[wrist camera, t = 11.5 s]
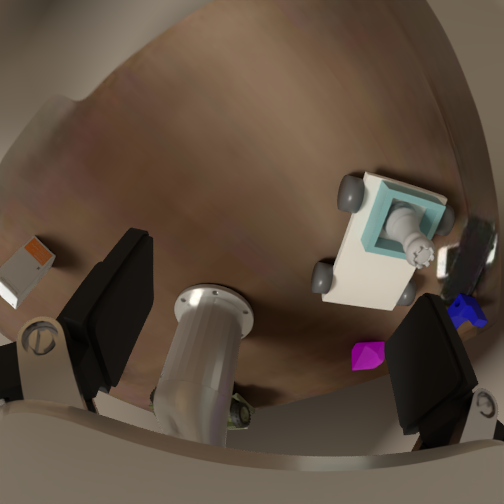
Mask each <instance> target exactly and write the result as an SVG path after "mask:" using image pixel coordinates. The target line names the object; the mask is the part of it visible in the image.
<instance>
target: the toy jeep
mask: <svg viewBox="0 0 504 504" xmlns="http://www.w3.org/2000/svg"><path fill="white" fill-rule="evenodd" d="M156 388H157V387H155V389H153V392H151V393H152V394H150V396H151V397H150V399H151V403H150V404H151V405H149V407H150V408H152V409H153V410H154V406H153V400H154V394H155V391H156ZM233 398H235V399H236V400H237V401H235V400H234V399H233ZM250 412H251V413H252V414H254V413H255V409H254V408H253V407H252V406H251V405H250V404H249V403H248V402H247V401H245V400H244V399H243V398H242V397H241V396H240V395H239V394H238V393H235V395H232V398H231V405H230V411H229V417H228V424H227V428H230V427H236V428H232V429H227V430H233V429H248V425H249V423H250V420H251V418H250V416H251V415H250ZM154 415H155V412H154ZM155 416H156V415H155ZM228 426H229V427H228Z"/></svg>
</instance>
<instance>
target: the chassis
mask: <svg viewBox="0 0 504 504" xmlns="http://www.w3.org/2000/svg"><path fill="white" fill-rule="evenodd" d="M400 202H401V203H408V204H409V205H411V206H413V208H414V209H415V211H416V213H417V214H418V216H419V223H420V224H419V229H420V231H421V232H422V233H423V234H425V236H426V237H427V238H428V239H430V240H431V239H432V237H433V235H434V234H438V235H441V236H446V235H448V234H449V233H450V231H451V230H452V228H453V225H454V220H455V214H454V210H453V208H452V207H451V206H450V205H447V204H446V202H447V198H446V197H445V196H443V195H440V194H437V193H434V192H431V191H429V190H426V189H423V188H420V187H417V186H413V185H410V184H407V183H404V182H401V181H398V180H394V179H391V178H387V177H384V176H381V175H377V174H374V173H370V172H366V171H365V175H364V178H363V179H361V178H357V177H354V176H350V175H345V176H344V177H343V179H342V181H341V184H340V187H339V191H338V199H337V205H338V209H339V210H341V211H346V212H350V213H352V215H351V218H350V221H349V224H348V227H347V230H346V233H345V236H344V239H343V241H342V244H341V247H340V250H339V252H338V255H337V258H336V260H335V263H334V266H332V264H327V263H322V262H317V263H316V264H315V267H314V270H313V274H312V279H311V291H312V292H314V293H320V294H322V301H326V302H333V303H339V304H346V305H353V306H361V307H368V308H376V309H383V310H391V311H392V310H393V308H394V307H395V305H403V306H410V305H411V304H412V303H413V301H414V299H415V296H416V283H415V281H414V280H413V279H411V277H412V275H413V273H414V271H415V269H416V267H417V266H416V267H414V266H412V265H410V264H409V263H408V262H407V260H406V253H405V252H404V250H403V245H402V244H401V243H400V242H398V241H395V240H393V239H391V238H390V237H389V236H388V235H387V233H386V232H385V230H384V229H383V223H384V221H385V218H386V216H387V213H388V210H389V208H390V207H391V206H392V205H394V204H397V203H400Z"/></svg>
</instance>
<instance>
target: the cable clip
mask: <svg viewBox="0 0 504 504" xmlns="http://www.w3.org/2000/svg"><path fill="white" fill-rule="evenodd" d="M447 311H448V313H449V316H450V318H451V320H452V322H453V324H454V326H455V328H456V329H457V328H458V327H459V326H460V325H461V324H462V323H463V322H465V321H467V320H469V321H470V322H471V323H472V325H474V326H478V327H483V326H484V325H485V324H486V323H487V322H488V321H487V319H486V317H485V315H484V313H483V311H482V310H481V308H480V306H479V304H478V303H477V301H476V299H475V298H473V297H470V296H467V295H464V294H459V295H458V297H457V298H456V299H455V301H454V302H453V303H452V305H451V306H450V307H449V309H448V310H447Z"/></svg>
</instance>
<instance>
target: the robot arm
mask: <svg viewBox="0 0 504 504" xmlns="http://www.w3.org/2000/svg"><path fill="white" fill-rule="evenodd" d="M153 300H154V290H153V237H150V236H149V234H148V232H147V231H144V230H140V229H136V228H130V229H129V230H128V231H127V232H126V233H125V234H124V236H123V237H122V238H121V239H120V240H119V242H118V243H117V244H116V245H115V247H114V248H113V249H112V250H111V252H110V253H109V254H108V255H107V257H106V258H105V259H104V260H103V262H98V263H97V264H96V265H95V266H94V268H93V269H92V270H91V272H90V273H89V274H88V276H87V277H86V278H85V280H84V281H83V282H82V284H81V285H80V286H79V288H78V289H77V290H76V292H75V293H74V294H73V296H72V297H71V299H70V300H69V301H68V303H67V304H66V306H65V307H64V309H63V310H62V311H61V313H60V314H59V316H58V317H57V319H56V320H54V319H52V318H50V317H36V318H34V319H31V320H29V321H28V322H27V323H25V324H24V325H23V326H22V328H21V329H20V331H19V333H18V335H17V341H16V342H13V343H10V344H7V345H3V346H0V504H504V425H503V424H502V423H501V422H500V421H499V420H497V415H498V405H497V402H496V400H495V398H494V396H493V395H492V394H491V393H490V392H489V391H488V390H486V389H483V388H480V389H477V390H476V391H475V392H474V393H473V392H472V389H473V388H474V387H475V386H476V385H478V381H477V378H476V375H475V373H474V370H473V368H472V366H471V363H470V360H469V358H468V356H467V353H466V351H465V348H464V346H463V344H462V341H461V339H460V337H459V335H458V332H457V330H456V328H455V326H454V324H453V322H452V320H451V318H450V316H449V313H448V311H447V309H446V307H445V305H444V304H443V302H442V300H441V298H440V296H438V295H435V294H430V293H425V294H423V295H422V296H420V297H419V298H418V299H417V301H416V302H415V304H414V305H413V307H412V308H411V309H410V311H409V312H408V314H407V315H406V317H405V318H404V319H403V321H402V322H401V324H400V325H399V326H398V328H397V329H396V331H395V332H394V333H393V335H392V336H391V337H390V339H389V340H388V341H387V343H386V345H385V348H384V352H385V356H386V360H387V364H388V369H389V373H390V377H391V382H392V386H393V391H394V396H395V401H396V406H397V412H398V417H399V422H400V426H401V427H402V428H403V433H404V435H411V434H416V433H417V432H419V433H420V436H419V438H418V440H417V441H416V443H415V445H414V447H413V449H412V451H411V452H404V453H396V454H386V455H372V456H353V457H352V456H351V457H315V456H314V457H311V456H293V455H279V454H269V453H259V452H251V451H243V450H237V449H230V448H225V442H226V432H227V424H228V417H229V411H230V405H231V398H232V392H233V386H234V379H235V373H236V367H237V360H238V354H239V347H240V341H241V339H242V338H244V337H245V336H246V335H248V334H249V332H250V331H251V329H252V327H253V322H254V313H253V310H252V308H251V306H250V304H249V303H248V302H247V301H246V300H245V298H244V297H242V296H241V295H240V294H238V293H237V292H235V291H233V290H231V289H229V288H226V287H223V286H219V285H214V284H199V285H195V286H191V287H189V288H187V289H185V290H184V291H183V292H182V293H181V294H180V295H179V296H178V298H177V301H176V303H175V307H174V308H175V315H176V318H177V320H178V322H179V324H178V327H177V330H176V332H175V335H174V338H173V341H172V344H171V347H170V349H169V352H168V355H167V358H166V361H165V364H164V367H163V370H162V373H161V376H160V379H159V382H158V385H157V388H156V391H155V394H154V400H153V406H154V412H155V415H156V418H157V420H158V423H159V425H160V427H161V428H162V430H163V433H164V434H161V433H157V432H154V431H150V430H147V429H143V428H139V427H136V426H133V425H130V424H127V423H124V422H121V421H118V420H115V419H112V418H108V417H105V416H102V415H99V413H98V410H97V408H96V405H95V402H94V399H93V398H95V397H96V395H97V392H98V390H100V391H102V392H105V393H109V391H110V388H111V386H113V387H116V386H117V384H118V382H119V380H120V378H121V375H122V373H123V370H124V368H125V366H126V363H127V361H128V359H129V356H130V354H131V352H132V350H133V347H134V345H135V343H136V341H137V338H138V336H139V334H140V332H141V330H142V327H143V325H144V323H145V321H146V319H147V317H148V314H149V312H150V310H151V308H152V305H153Z"/></svg>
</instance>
